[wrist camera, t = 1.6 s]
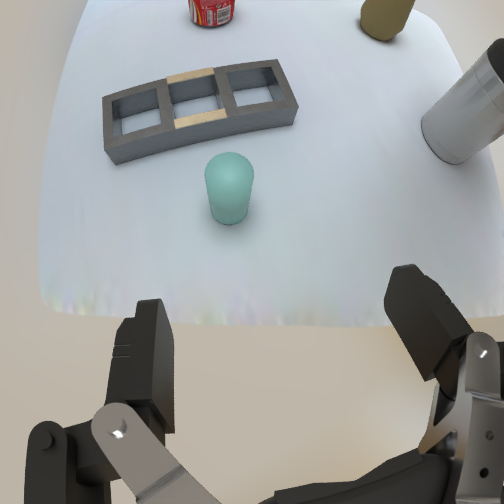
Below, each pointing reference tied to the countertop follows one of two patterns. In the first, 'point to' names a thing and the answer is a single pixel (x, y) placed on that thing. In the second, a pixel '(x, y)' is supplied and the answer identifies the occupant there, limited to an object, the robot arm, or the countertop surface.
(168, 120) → the rail
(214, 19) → the soda can
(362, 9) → the squeeze bottle
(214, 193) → the peg
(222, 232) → the countertop surface
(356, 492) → the robot arm
